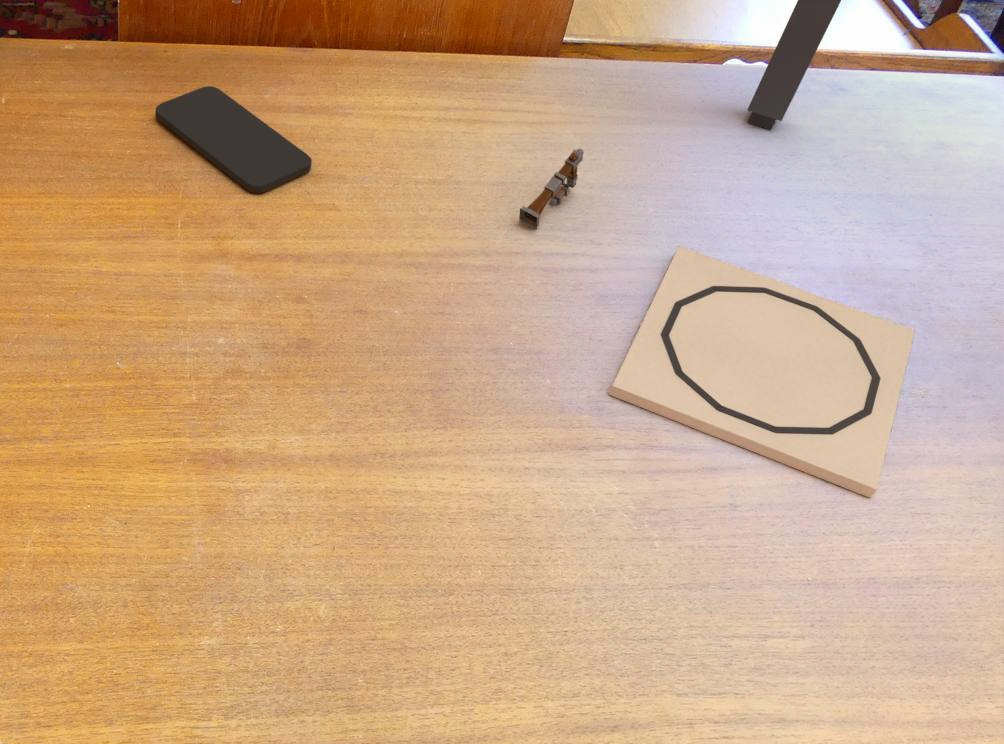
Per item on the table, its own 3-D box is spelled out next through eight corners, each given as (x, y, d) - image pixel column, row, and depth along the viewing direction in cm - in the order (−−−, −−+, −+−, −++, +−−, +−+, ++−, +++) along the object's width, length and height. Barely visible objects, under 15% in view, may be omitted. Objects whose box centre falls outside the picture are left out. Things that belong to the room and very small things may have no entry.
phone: (254, 190, 96) (149, 107, 102) (254, 198, 97) (149, 115, 103) (317, 161, 99) (212, 82, 105) (316, 169, 100) (211, 91, 106)
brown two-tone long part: (587, 180, 100) (591, 147, 96) (535, 246, 99) (537, 216, 95) (570, 171, 101) (573, 138, 97) (518, 236, 100) (519, 206, 96)
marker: (782, 118, 111) (858, -36, 99) (774, 134, 109) (851, -21, 97) (748, 107, 112) (819, -47, 100) (740, 123, 110) (812, -32, 98)
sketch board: (909, 339, 92) (916, 328, 91) (870, 498, 81) (878, 488, 80) (674, 254, 96) (679, 244, 95) (607, 394, 85) (612, 384, 84)
